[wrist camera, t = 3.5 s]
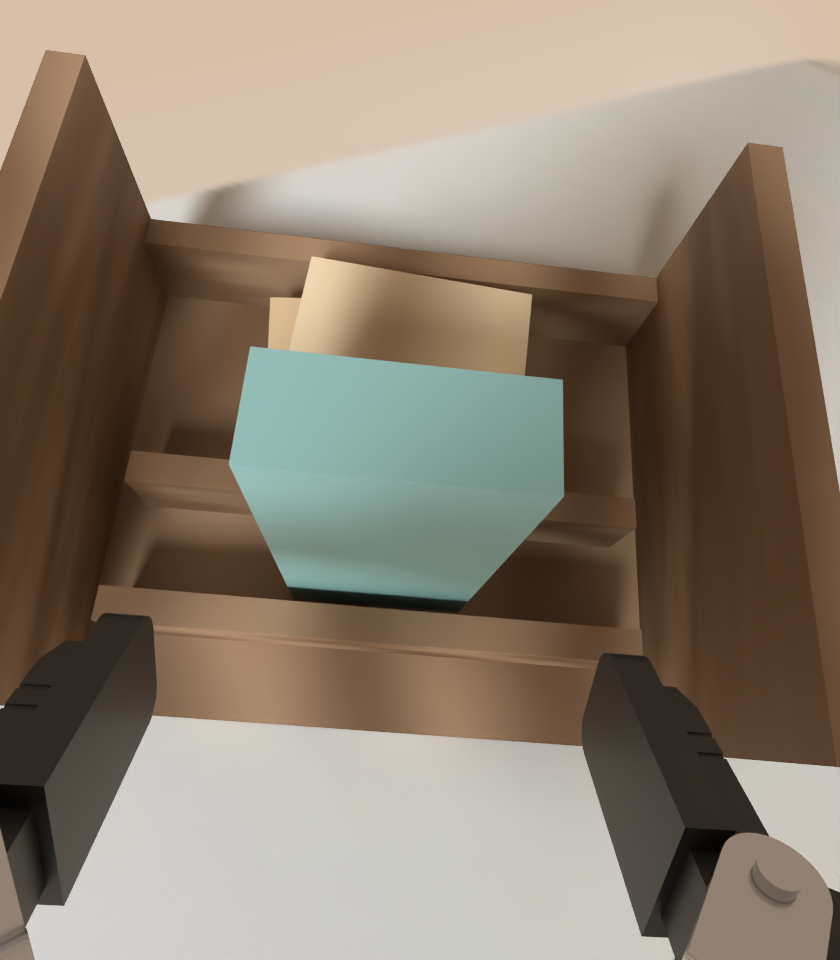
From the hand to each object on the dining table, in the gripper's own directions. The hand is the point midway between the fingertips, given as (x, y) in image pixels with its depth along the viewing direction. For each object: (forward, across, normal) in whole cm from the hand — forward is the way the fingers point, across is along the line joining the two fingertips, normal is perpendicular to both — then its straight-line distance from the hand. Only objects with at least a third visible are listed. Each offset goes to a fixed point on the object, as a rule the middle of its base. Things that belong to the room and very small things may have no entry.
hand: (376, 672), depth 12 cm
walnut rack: (+13, 0, +3) cm, 13 cm away
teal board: (+10, 0, +4) cm, 11 cm away
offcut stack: (+14, 0, 0) cm, 14 cm away
